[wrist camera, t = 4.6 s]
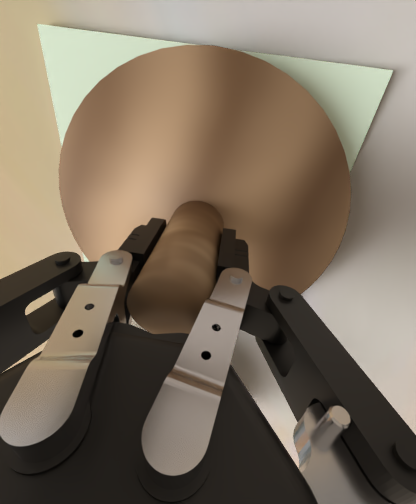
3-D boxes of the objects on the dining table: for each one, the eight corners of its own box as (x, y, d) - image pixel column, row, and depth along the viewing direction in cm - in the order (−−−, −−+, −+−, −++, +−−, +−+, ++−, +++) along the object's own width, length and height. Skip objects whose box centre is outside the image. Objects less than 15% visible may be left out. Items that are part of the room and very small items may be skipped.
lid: (408, 71, 11) (665, 43, 4) (294, 328, 20) (318, 444, 14) (35, 27, 12) (-244, -56, 5) (91, 294, 21) (21, 390, 14)
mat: (386, 71, 12) (393, 70, 12) (286, 314, 21) (287, 319, 21) (45, 26, 13) (37, 23, 12) (93, 283, 22) (89, 287, 21)
